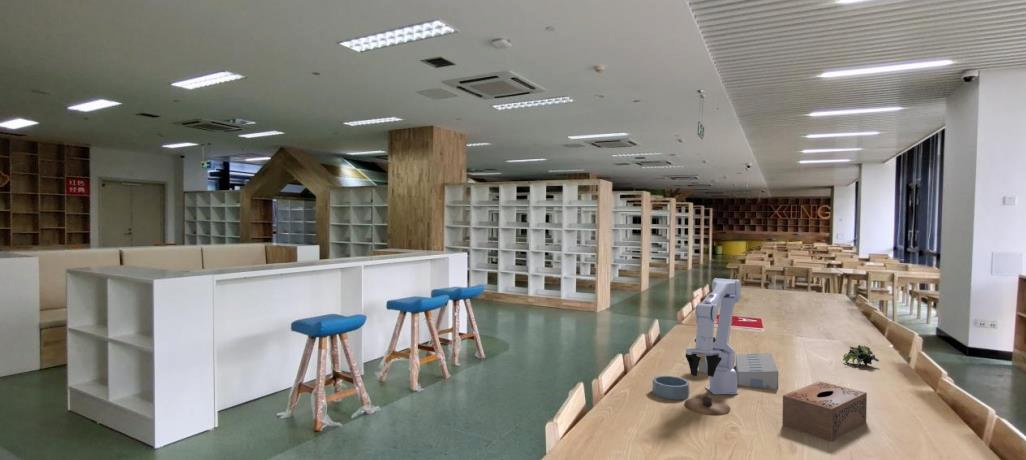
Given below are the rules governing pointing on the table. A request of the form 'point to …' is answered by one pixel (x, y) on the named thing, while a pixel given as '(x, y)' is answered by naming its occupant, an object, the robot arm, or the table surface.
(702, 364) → the coffee cup
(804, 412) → the tissue box cover
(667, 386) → the bowl
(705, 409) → the lid
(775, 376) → the warehouse
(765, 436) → the table surface
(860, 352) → the green leafy clump
